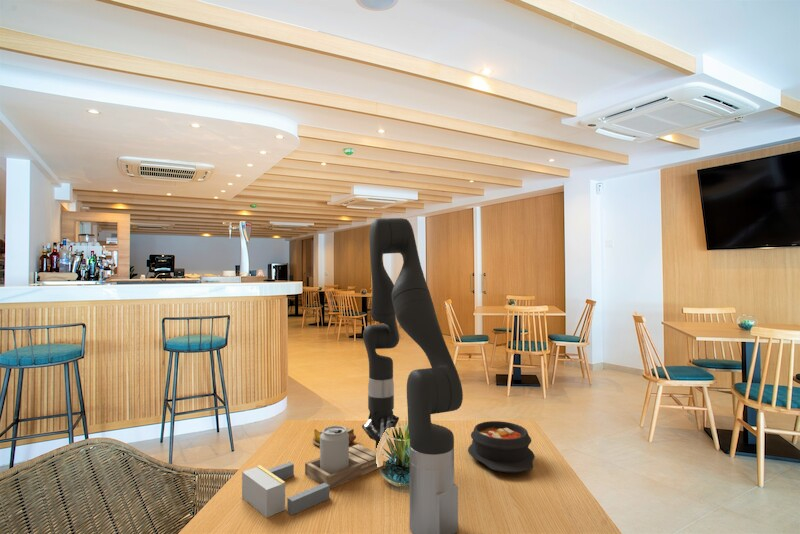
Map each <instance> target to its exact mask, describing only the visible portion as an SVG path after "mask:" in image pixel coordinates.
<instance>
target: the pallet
mask: <svg viewBox="0 0 800 534" xmlns="http://www.w3.org/2000/svg"><path fill="white" fill-rule="evenodd" d="M376 452H377V451H374V450H372V449H370V448H367V447H365V446H363V445H361V444H359V443H357V444H355V445H352V446H349V467H348V468H345V469H343V470H340V471H338V472H335V473H333V474H329V473H327V472H325V471H324V470H322V469H320V457H318V458H315V459H313V460H312V459H311V460H310V461H307V462H304V464H305V465H304V475H305V476H307V477H308V478H310V479H311V480H313V481H315V482H316V483H318V484H319V485H320V484H322V483H326V484H328V485H330V490H331V489H334V488H336V487H338V486H341V485H344V484H345V483H348V482H349V481H353V480H355V479H357V478H360V477H361V476H364V475H366V474H368V473H371V472H373V471H375V470H378V469H379V468H377V464H376Z"/></svg>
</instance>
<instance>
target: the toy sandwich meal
mask: <svg viewBox="0 0 800 534" xmlns="http://www.w3.org/2000/svg"><path fill="white" fill-rule="evenodd" d="M345 428H346V432H347V433H348V434H349V444H350V443H351V442H353V441H354V440H356V439H357V435H356V434H355V431H354V427H353V428H352V427H351V428H350V427H345ZM313 432H314V436H313V438H312V442H313V444H314V445H316V446H317V447H319V448H320V436H321V434H322V433H323V431H318V430H317V429H316V428H315V429H314V430H313Z"/></svg>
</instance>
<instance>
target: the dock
mask: <svg viewBox="0 0 800 534" xmlns="http://www.w3.org/2000/svg"><path fill="white" fill-rule="evenodd" d="M294 465H295V464H294V463H293V462H291V461H288V462H285V463H283V464H278V465H277V466H274V467H271V468H268V469H266V468H265V467H264V466H262V465H261V464H259V465H256V466H255V467H253V468H250V469H246V470H243V471H242V472H241V482H242V483H241V488H242V489H241V498H242V499H244V500H245V501H246V502H247V503H248V504H249V505H250V506H252V507H253V508H254V509H255V510H256V511H257V512H259V513H260V514H262V515H263V517H265V518H266V519H267V518H270V517H271V516H272V517H273V516H274V515H277V514H278V513H281V512H283V511H285V510H286V511H287V513H288V514H289V515H292V516H293V515H296V514H298V513H300V512H301V511H305V510H307V509H309V508H311V507H313V506H315V505H318V504H320V503H322V502H324V501H327V500H329V499H330V496H331V494H330V490H331V489H330V485H328V484H326V483H322V484H320V483H319V484H318V485H316V486H313V487H311V488H309V489H305V490H304V491H301V492H299V493H296V494H294V495H291V496H289V497H287V498H286V481H284V480H285V479H288V478H291V477H294V476H295V474H294V472H295V471H294V470H295V466H294ZM286 499H287V502H286ZM286 505H287V506H286ZM286 508H287V509H286Z"/></svg>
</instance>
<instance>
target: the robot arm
mask: <svg viewBox="0 0 800 534" xmlns="http://www.w3.org/2000/svg"><path fill="white" fill-rule="evenodd" d="M414 232H415V231H414V228H413V226H412V224H411V222H410V220H408V219H407V218H402V217H394V218H393V217H390V218H386V217H385V218H375V219H374V220H372V222H371V224H370V227H369V235H368V237H369V239H368V241H369V257H370V273H371V274H370V275H371V287H372V288H371V290H372V291H371V305H370V317H371V319H372V320H373V321H375V322H377V323H380V324H367V326H365V328H364V330H363V331H362V332H363V333H362V338H363V339H362V340H363V343H364V347H365V349H366V353H367V358H368V385H367V391H368V392H367V407H368V412H369V415H368V417H367V418H368V421H367V422H366V423H363V424H362V427H361V428H362V429H363V432H365V434H366V435H367V436H368V437H369V439H371V440H373V441H374V442H375V449H376V448H377V445H378V443H379V441H380V439H381V437H382V435H383V433H384V432H385V430H386V429H387V428H389V429H390V428H391V427H395V428H396V427H397V423H398V422H399V420H400V418H399V416H397V415H394V411H393V410H394V409H395V383H394V361H393V359H392V357H390V356H386V355H381V354H379V353H377V351H376V350H383V349H388V350H389V349H394V348H396V347H397V346H398V344H399V341H400V333H399V328H398V326H397V324H399V326H400V328H402V330H403V331H404V332H405V333H406V334H407V335H408V336H409V337H410V339H412V340H413V341H414V342H415V343H416V344H417V345H418V346H419V348H420V349H422V351H423V352H424V354H425V355H426V358H427V359H428V361H429V364H430V366H431V367H428V368H419V369H417V368H416V369H413V370H412V371H410V373H409V374H408V376H407V379H406V381H407V382H406V403H407V404H406V406H407V428H408V435H409V436H408V437H409V531H410V533H411V534H456V533H458V532H459V486H458V484H455V436H454V433H453V431H452V430H451V429H449V428H448V427H445V426H443V425H439V424H436V423H432V416H431V415H435V414H441V413H449V412H454V411H457V410H458V409H460V407H461V406H462V404H463V400H464V399H463V398H464V395H463V393H464V392H463V391H464V390H463V386H462V381H461V378H460V376H459V375H460V374H458V370H457V368H456V366H455V362H454V361H453V358H452V355H451V354H450V351H449V349H448V346H447V344H446V340H445V339H444V335H443V333H442V332H443V331H442V330H441V326H440V323H439V320H438V316H437V314H436V309H435V305H434V302H433V298H432V295H431V293H430V290H429V287H428V284H427V281H426V278H425V275H424V271H423V268H422V265H421V264H422V263H421V260H420V256H419V251H418V246H417V241H416V238H415V233H414ZM386 254H387V255H388V254H400V255H401V256H402V260H403V262H402V267H401V269H400V272H399V274H398V276H397V278H396V281H395V283H394V282H393V281H392V279H391V277H390V276H389V274H388V273H387V270H386V268H385V265H384V260H383V257H384V255H386Z"/></svg>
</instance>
